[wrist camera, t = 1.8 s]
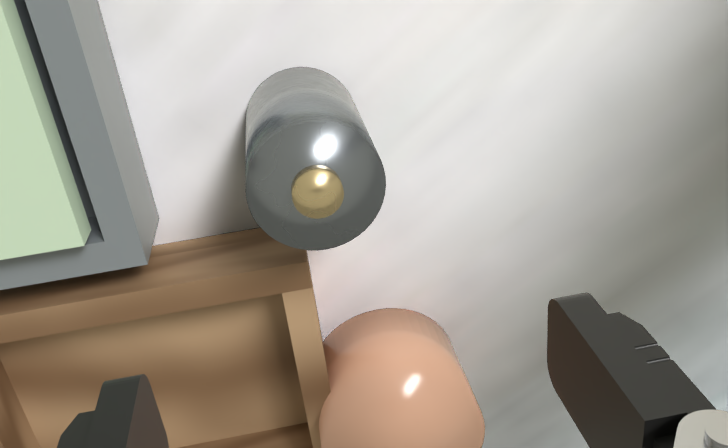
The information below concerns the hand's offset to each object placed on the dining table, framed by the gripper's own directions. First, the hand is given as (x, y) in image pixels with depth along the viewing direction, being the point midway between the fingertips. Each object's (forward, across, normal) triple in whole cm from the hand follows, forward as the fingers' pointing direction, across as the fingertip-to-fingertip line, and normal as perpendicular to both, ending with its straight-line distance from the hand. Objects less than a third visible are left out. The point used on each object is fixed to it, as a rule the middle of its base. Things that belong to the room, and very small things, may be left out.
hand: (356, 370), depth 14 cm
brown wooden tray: (+16, +8, +10) cm, 20 cm away
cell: (+16, 0, 0) cm, 16 cm away
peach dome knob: (+16, -2, +13) cm, 20 cm away
